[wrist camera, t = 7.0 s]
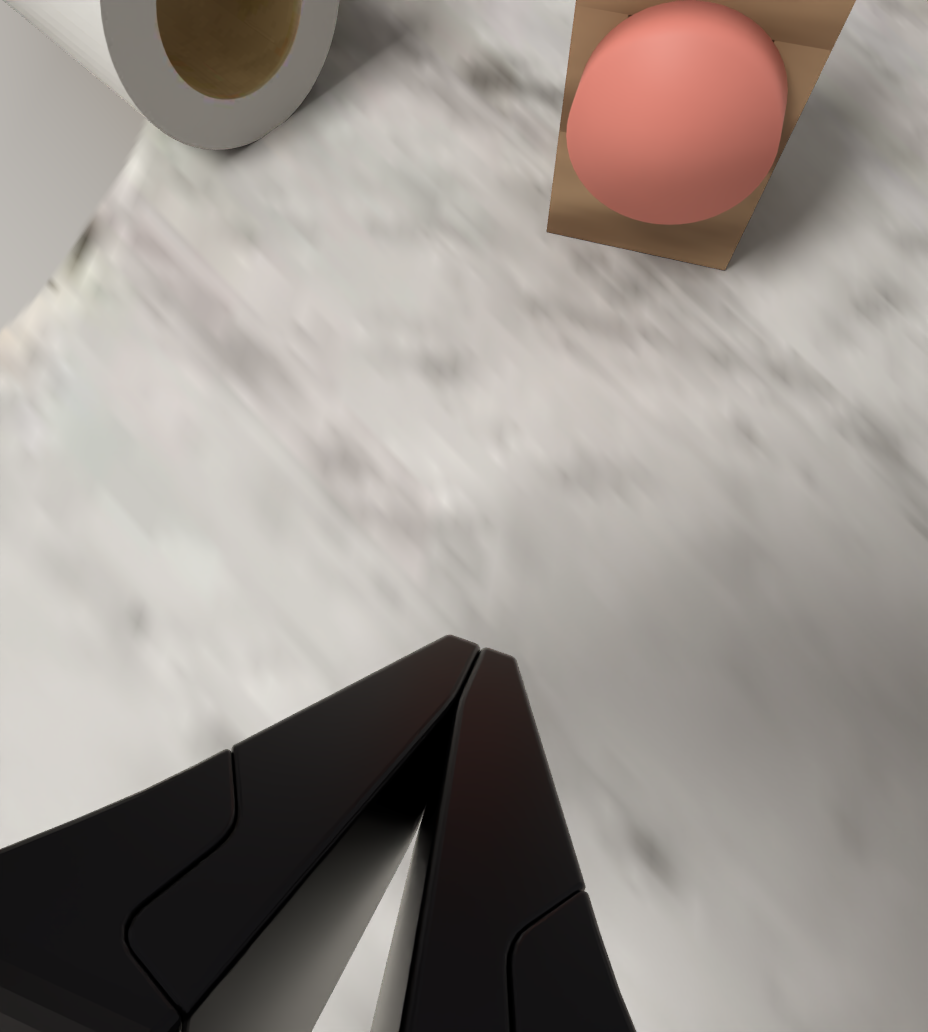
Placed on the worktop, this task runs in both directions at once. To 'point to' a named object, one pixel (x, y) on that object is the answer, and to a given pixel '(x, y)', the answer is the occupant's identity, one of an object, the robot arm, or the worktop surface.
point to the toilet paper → (197, 58)
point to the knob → (678, 113)
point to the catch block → (711, 242)
